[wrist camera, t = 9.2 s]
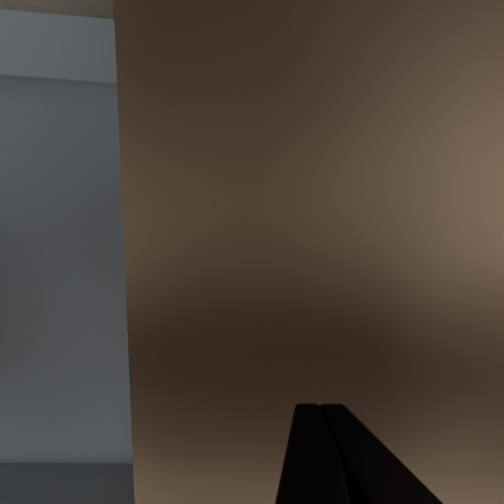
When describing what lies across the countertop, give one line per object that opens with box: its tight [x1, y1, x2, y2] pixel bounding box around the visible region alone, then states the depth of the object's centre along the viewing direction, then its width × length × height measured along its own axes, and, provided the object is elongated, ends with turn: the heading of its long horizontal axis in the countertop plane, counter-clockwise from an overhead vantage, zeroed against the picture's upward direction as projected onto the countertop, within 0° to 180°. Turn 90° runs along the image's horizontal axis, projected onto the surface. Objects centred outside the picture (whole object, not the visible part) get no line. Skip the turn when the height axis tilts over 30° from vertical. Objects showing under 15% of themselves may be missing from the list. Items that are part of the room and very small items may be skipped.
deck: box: [113, 0, 504, 504], centre depth 10 cm, size 16×14×4 cm
